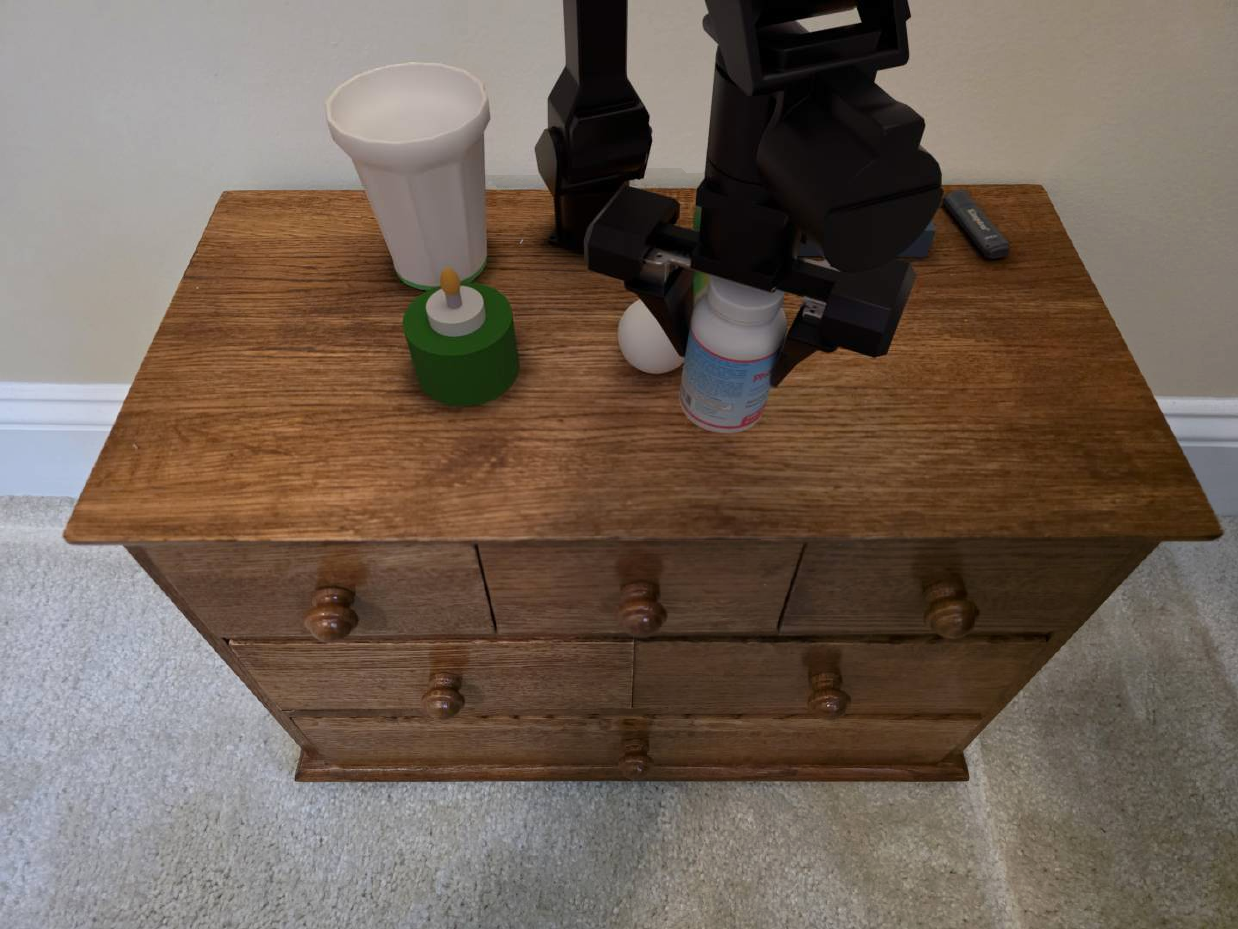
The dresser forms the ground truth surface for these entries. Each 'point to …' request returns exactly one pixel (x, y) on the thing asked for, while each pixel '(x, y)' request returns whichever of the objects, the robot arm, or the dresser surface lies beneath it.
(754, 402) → the pill bottle
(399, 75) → the cup
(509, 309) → the candle
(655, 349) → the lightbulb
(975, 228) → the usb stick
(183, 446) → the dresser surface
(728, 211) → the robot arm
